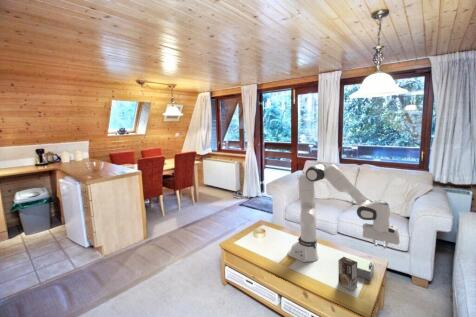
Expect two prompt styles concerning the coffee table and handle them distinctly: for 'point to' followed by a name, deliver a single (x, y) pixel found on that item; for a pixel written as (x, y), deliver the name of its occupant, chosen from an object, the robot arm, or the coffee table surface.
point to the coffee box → (347, 273)
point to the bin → (365, 274)
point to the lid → (363, 264)
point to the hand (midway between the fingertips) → (380, 247)
